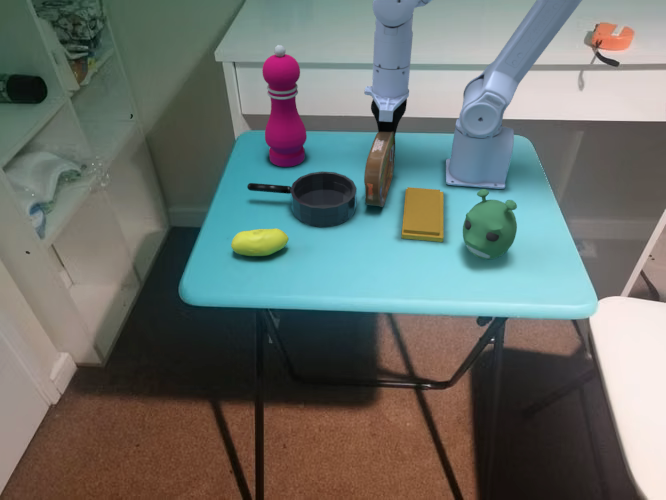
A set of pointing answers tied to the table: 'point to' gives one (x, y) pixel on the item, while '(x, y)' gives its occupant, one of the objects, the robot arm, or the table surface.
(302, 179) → the pan
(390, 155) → the tin
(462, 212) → the table surface
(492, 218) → the alien toy
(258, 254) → the lemon
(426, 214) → the yellow flat slab
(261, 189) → the pan handle
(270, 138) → the pepper mill
